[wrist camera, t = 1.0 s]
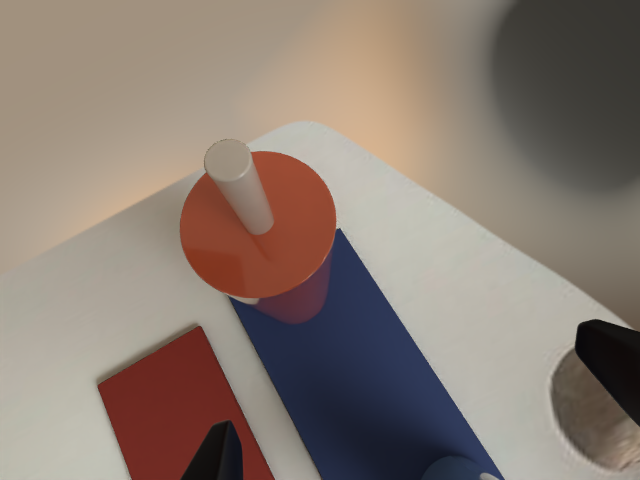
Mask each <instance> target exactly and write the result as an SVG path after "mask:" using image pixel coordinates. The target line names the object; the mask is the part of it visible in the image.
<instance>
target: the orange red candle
mask: <svg viewBox="0 0 640 480" xmlns="http://www.w3.org/2000/svg"><path fill="white" fill-rule="evenodd" d="M204 167H205V170H206V173H205V174H204V175H203V176H202V177H201V178H200V179H199V180H198V182H197V183H196V184H195V185H194V187H193V188H192V190H191V191H190V193H189V195H188V197H187V199H186V201H185V204H184V207H183V210H182V214H181V220H180V238H181V244H182V248H183V251H184V253H185V256H186V258H187V260H188V262H189V264H190V265H191V267H192V268H193V270H194V271H195V272H196V273H197V275H198V276H199V277H201V278H202V279H203V280H204V281H205V282H206V283H208V284H209V285H210V286H212V287H213V288H215V289H217V290H219V291H221V292H223V293H225V294H226V295H228V296H230V297H232V298H234V299H236V300H238V301H240V302H242V303H244V304H245V305H247V306H249V307H251V308H253V309H255V310H257V311H259V312H261V313H263V314H265V315H266V316H268V317H270V318H272V319H274V320H276V321H278V322H281V323H284V324H299V323H303V322H306V321H308V320H310V319H312V318H313V317H314V316H316V315H317V314H318V313H319V312H320V310H321V309H322V308H323V306H324V304H325V302H326V299H327V296H328V289H329V281H330V273H331V265H332V257H333V249H334V241H335V233H336V210H335V205H334V201H333V198H332V196H331V193H330V191H329V189H328V188H327V186H326V184H325V183H324V181H323V180H322V179H321V177H320V176H319V175H318V174H317V173H316V172H315V171H314V170H313V169H311V168H310V167H309V166H307V165H306V164H305V163H303V162H301V161H299V160H298V159H295V158H293V157H291V156H288V155H285V154H281V153H276V152H267V151H258V152H250V150H249V148H248V147H247V146H246V145H245V144H244V143H242V142H240V141H238V140H233V139H225V140H221V141H219V142H217V143H215V144H213V145H212V146H211V147H210V148H209V149H208V151H207V152H206V155H205V158H204Z"/></svg>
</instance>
